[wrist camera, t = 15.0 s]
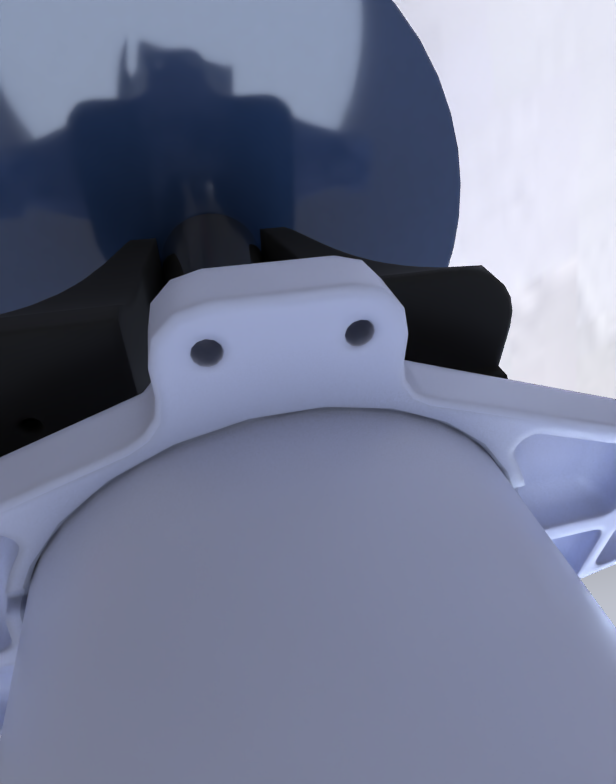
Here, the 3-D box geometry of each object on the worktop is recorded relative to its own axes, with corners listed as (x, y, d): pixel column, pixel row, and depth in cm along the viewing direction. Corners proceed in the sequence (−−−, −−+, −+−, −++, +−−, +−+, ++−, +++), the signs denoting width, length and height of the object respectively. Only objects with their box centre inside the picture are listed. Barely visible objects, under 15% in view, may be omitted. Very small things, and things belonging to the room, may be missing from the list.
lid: (259, 479, 21) (284, 592, 17) (-183, 315, 13) (-324, 454, 9) (531, 188, 16) (656, 254, 12) (75, -367, 8) (9, -702, 4)
